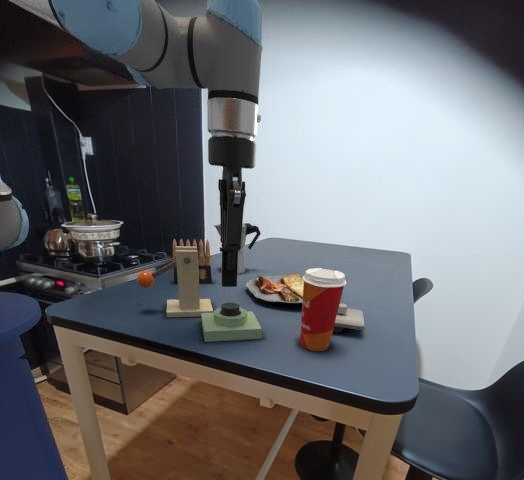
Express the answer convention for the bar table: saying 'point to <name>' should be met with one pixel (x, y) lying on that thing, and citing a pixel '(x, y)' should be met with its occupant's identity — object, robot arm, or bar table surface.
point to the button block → (230, 326)
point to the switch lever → (153, 275)
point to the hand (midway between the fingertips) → (229, 285)
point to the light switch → (348, 319)
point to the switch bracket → (188, 286)
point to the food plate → (278, 288)
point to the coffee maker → (243, 243)
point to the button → (230, 309)
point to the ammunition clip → (203, 265)
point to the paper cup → (320, 307)
